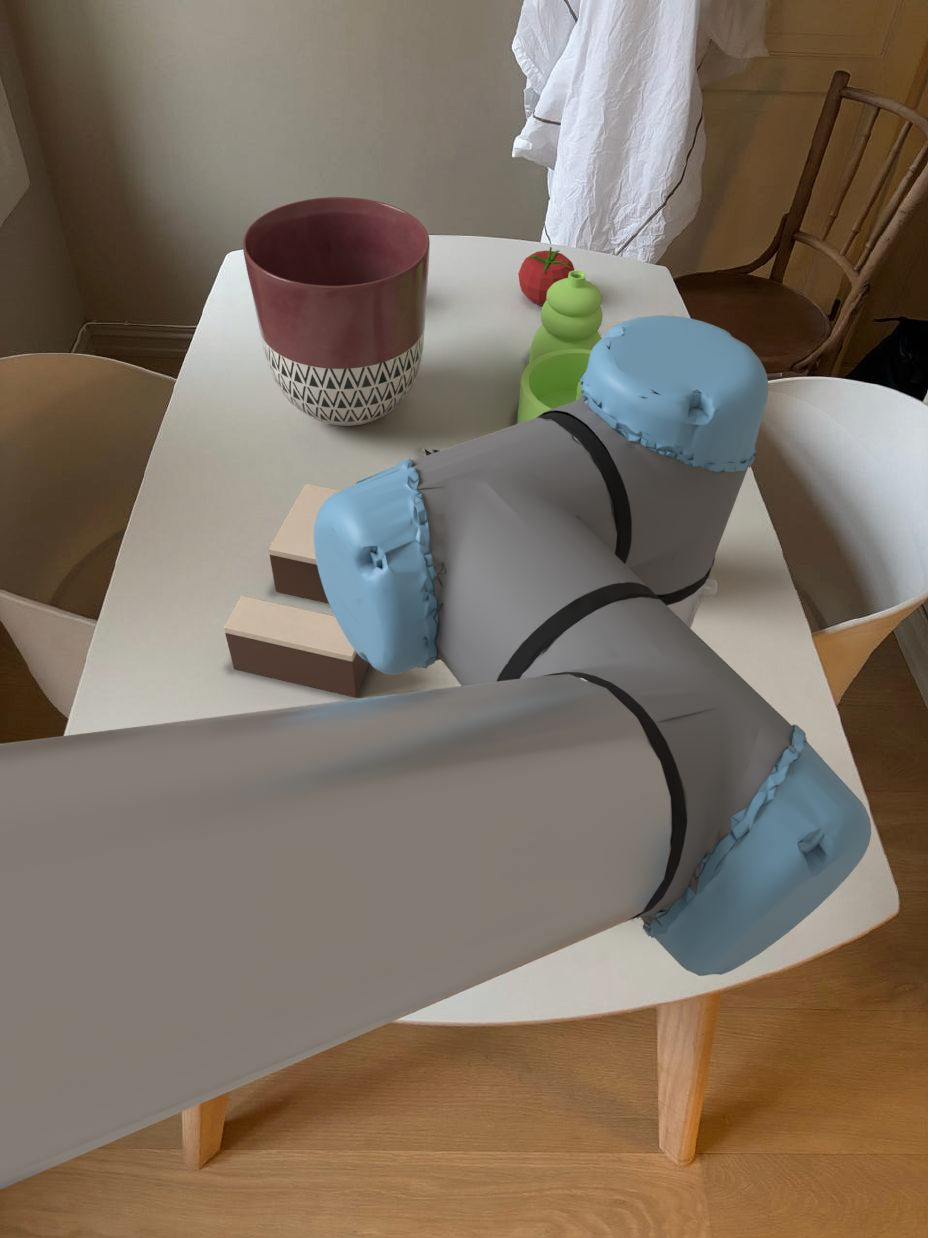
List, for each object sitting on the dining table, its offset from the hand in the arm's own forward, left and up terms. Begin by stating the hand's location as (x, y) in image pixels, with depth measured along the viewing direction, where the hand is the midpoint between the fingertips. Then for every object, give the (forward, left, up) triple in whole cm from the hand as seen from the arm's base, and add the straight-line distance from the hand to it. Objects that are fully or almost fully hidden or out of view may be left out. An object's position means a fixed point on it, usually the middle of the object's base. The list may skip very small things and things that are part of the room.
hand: (567, 817), depth 65 cm
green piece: (+65, +10, -12) cm, 67 cm away
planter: (+55, +36, -12) cm, 67 cm away
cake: (+29, +27, -12) cm, 41 cm away
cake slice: (+16, +27, -12) cm, 33 cm away
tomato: (+87, +18, -12) cm, 90 cm away
